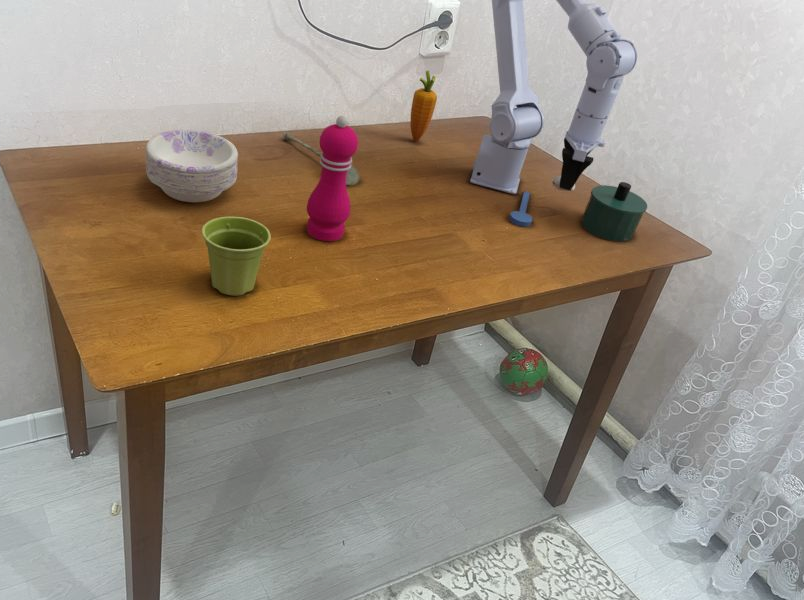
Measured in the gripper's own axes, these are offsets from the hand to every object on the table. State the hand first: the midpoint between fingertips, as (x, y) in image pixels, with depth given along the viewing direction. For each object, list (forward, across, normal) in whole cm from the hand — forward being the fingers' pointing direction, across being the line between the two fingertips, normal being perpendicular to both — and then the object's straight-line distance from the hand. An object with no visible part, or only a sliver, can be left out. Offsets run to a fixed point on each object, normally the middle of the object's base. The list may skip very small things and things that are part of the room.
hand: (565, 183), depth 134 cm
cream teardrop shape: (+2, 0, 0) cm, 2 cm away
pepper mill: (+7, -31, +37) cm, 49 cm away
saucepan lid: (+1, +1, -10) cm, 10 cm away
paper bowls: (+7, -30, +62) cm, 69 cm away
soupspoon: (+7, -5, +47) cm, 48 cm away
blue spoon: (+7, -1, +6) cm, 9 cm away
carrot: (+7, +18, +32) cm, 37 cm away
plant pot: (+7, -53, +44) cm, 69 cm away
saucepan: (+7, +1, -10) cm, 12 cm away
